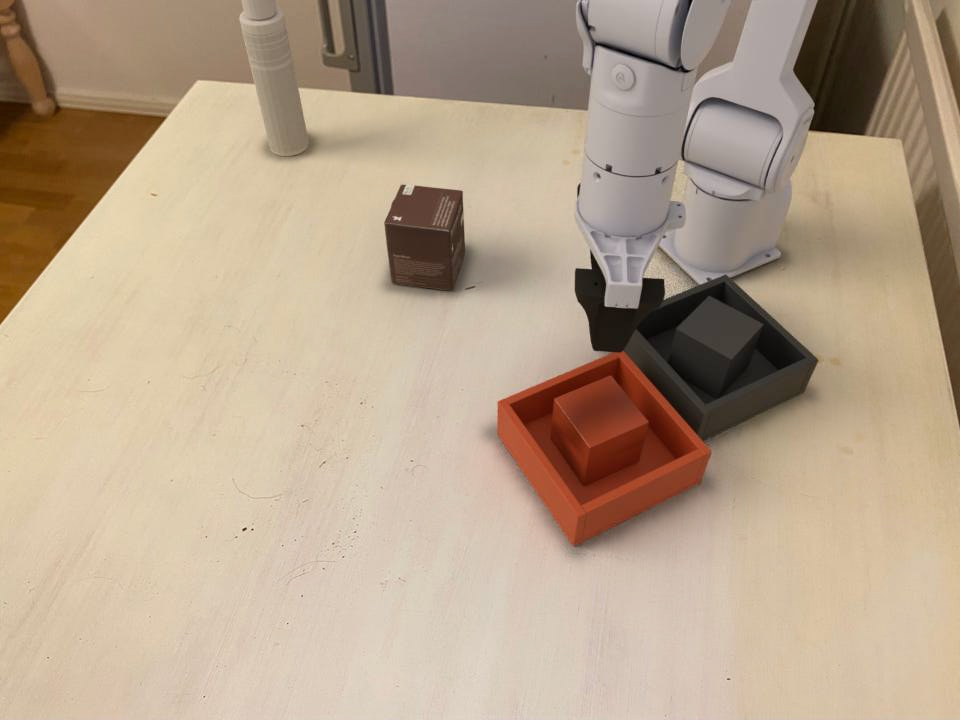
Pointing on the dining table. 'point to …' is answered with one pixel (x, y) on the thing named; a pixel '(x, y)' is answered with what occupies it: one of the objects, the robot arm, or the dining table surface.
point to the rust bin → (621, 495)
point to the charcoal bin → (760, 387)
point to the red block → (598, 430)
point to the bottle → (274, 76)
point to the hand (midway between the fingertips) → (607, 309)
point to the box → (425, 236)
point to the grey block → (714, 346)
